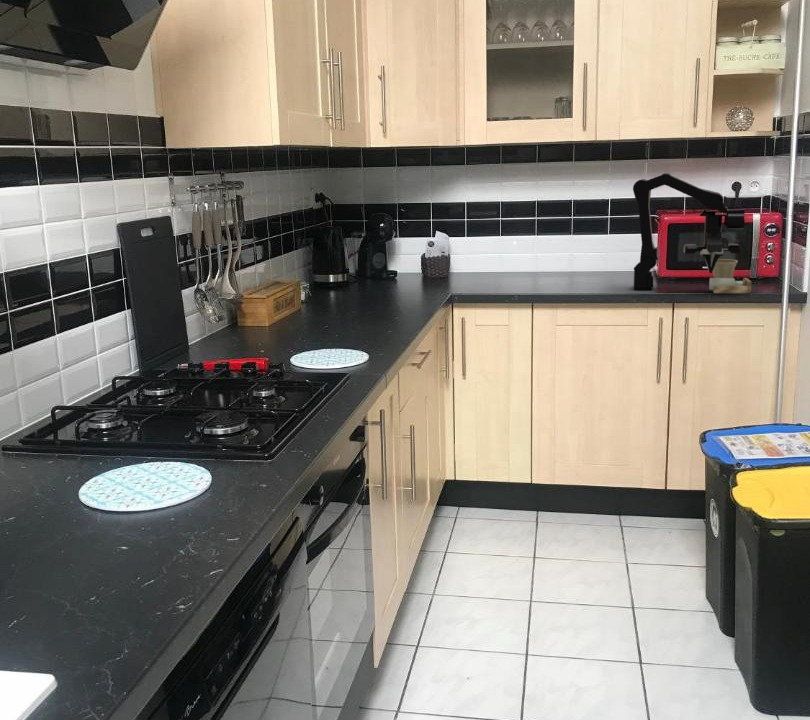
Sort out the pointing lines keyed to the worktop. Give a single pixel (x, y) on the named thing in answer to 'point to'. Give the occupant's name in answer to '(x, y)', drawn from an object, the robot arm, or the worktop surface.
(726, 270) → the flower pot
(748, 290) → the cradle
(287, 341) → the worktop surface
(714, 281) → the bottle
